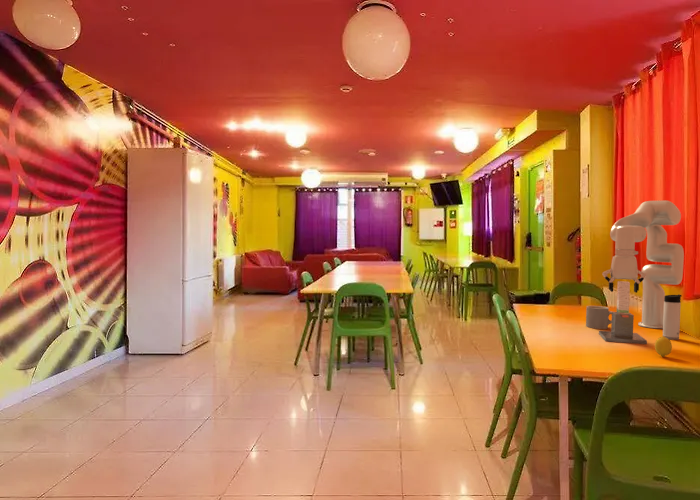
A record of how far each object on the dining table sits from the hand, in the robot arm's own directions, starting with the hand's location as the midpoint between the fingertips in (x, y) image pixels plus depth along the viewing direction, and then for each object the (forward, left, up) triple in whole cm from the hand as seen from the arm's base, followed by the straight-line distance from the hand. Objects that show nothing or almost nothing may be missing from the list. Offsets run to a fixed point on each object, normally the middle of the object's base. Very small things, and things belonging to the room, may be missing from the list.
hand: (623, 291), depth 221 cm
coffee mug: (-26, -4, -21) cm, 34 cm away
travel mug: (-9, +22, -21) cm, 32 cm away
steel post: (0, 0, -13) cm, 14 cm away
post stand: (0, 0, -21) cm, 21 cm away
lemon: (+30, +8, -21) cm, 38 cm away
